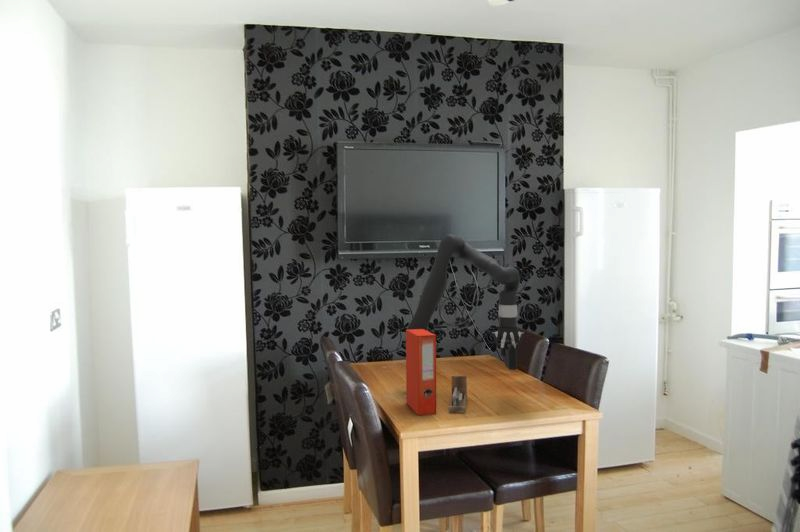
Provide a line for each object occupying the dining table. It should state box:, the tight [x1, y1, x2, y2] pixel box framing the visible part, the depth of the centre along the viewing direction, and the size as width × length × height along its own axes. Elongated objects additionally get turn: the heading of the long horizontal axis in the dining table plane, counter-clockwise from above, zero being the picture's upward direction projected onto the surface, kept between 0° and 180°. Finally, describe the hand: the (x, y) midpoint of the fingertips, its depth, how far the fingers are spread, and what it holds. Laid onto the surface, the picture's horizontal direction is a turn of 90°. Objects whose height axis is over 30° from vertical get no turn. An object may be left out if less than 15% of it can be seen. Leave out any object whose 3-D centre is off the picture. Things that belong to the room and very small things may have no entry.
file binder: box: [405, 329, 437, 416], centre depth 236 cm, size 8×17×32 cm, turn 15°
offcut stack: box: [453, 388, 464, 407], centre depth 240 cm, size 3×14×6 cm, turn 172°
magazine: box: [500, 338, 518, 371], centre depth 235 cm, size 17×3×30 cm
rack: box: [448, 375, 468, 414], centre depth 240 cm, size 6×22×10 cm, turn 172°
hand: (508, 356), depth 236 cm, fingers closed on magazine, 3 cm apart
